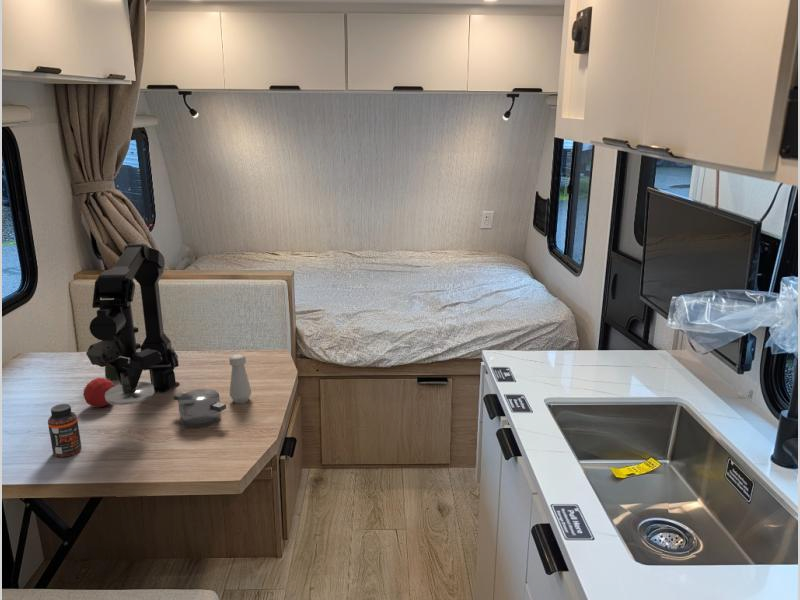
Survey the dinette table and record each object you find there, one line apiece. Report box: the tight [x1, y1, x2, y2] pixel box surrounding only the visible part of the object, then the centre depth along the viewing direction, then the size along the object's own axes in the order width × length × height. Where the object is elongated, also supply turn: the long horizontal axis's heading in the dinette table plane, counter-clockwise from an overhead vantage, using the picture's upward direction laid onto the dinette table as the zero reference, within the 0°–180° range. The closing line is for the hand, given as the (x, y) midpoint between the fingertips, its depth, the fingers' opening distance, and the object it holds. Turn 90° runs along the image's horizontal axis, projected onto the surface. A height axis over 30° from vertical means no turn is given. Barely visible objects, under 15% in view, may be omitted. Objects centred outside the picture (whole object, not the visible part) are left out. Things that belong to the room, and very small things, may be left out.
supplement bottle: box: [47, 403, 82, 458], centre depth 142 cm, size 6×6×11 cm
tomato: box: [82, 377, 115, 408], centre depth 166 cm, size 8×8×8 cm
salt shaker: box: [229, 353, 252, 404], centre depth 168 cm, size 6×6×13 cm
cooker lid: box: [105, 370, 155, 406], centre depth 150 cm, size 11×11×6 cm
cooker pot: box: [172, 388, 227, 429], centre depth 158 cm, size 16×10×6 cm, turn 63°
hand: (129, 386), depth 150 cm, fingers closed on cooker lid, 3 cm apart
